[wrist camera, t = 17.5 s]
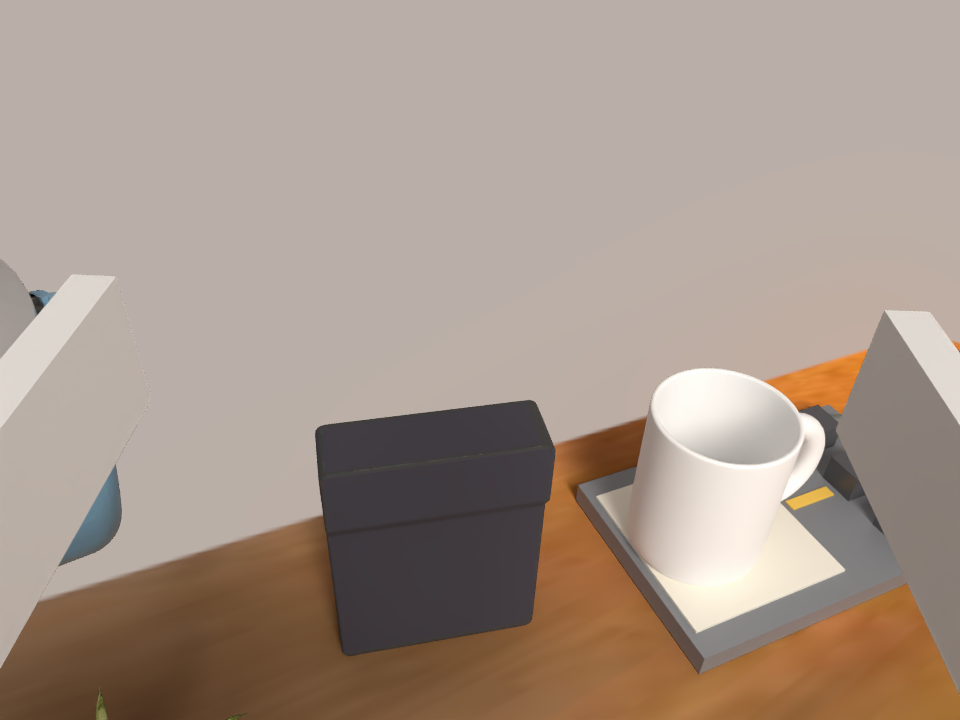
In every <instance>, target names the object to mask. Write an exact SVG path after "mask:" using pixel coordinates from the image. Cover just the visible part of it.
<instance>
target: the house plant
mask: <svg viewBox="0 0 960 720" xmlns="http://www.w3.org/2000/svg"><path fill="white" fill-rule="evenodd" d="M245 714H247V713H245ZM245 714H239V715H236V716H232V717H230V718H228V719H226V720H238V719H239V717H240V716H242V715H245ZM96 720H108V717H107V713H106V710H105V706H104V702H103V697H102V694H101V691H100V689H99V697H98V701H97V706H96Z"/></svg>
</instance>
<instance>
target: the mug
mask: <svg viewBox="0 0 960 720" xmlns="http://www.w3.org/2000/svg"><path fill="white" fill-rule="evenodd" d="M824 447H825V433H824V429H823V427H822V426H821V424H820V423H819V421H818V420H817V419H815V418H814V417H812V416H811V415H808V414H806V413H799V412H798V410H797V408H796V407H795V406H794V405H793V403H792V402H791V401H790V400H789V399H788V398H787V397H786V396H785V395H784V394H782V393H781V392H780V391H778V390H777V389H775V388H774V387H772V386H771V385H769V384H767V383H765V382H763V381H762V380H759V379H757V378H754V377H752V376H749V375H746V374H744V373H740V372H736V371H731V370H725V369H719V368H697V369H689V370H685V371H681V372H678V373H675V374H673V375H671V376H669V377H668V378H666V379H665V380H664V381H662V382H661V383H660V384H659V385H658V387H657V388H656V389H655V391H654V392H653V395H652V397H651V402H650V406H649V411H648V416H647V421H646V426H645V430H644V435H643V440H642V445H641V450H640V454H639V459H638V464H637V469H636V474H635V478H634V483H633V488H632V493H631V498H630V503H629V508H628V521H627V522H628V531H629V535H630V538H631V541H632V543H633V545H634V547H635V548H636V550H637V551H638V553H639V554H640V555H641V557H642V558H643V559H644V560H645V561H646V562H647V563H648V564H649V565H650V566H652V567H653V568H654V569H656V570H657V571H658V572H660V573H662V574H663V575H665V576H667V577H669V578H671V579H674V580H676V581H679V582H682V583H686V584H690V585H696V586H719V585H724V584H728V583H731V582H733V581H735V580H737V579H739V578H741V577H743V576H744V575H745V574H747V573H748V572H749V571H750V570H751V569H752V567H753V566H754V565H755V563H756V562H757V560H758V558H759V556H760V554H761V552H762V549H763V547H764V544H765V542H766V539H767V537H768V534H769V531H770V529H771V526H772V523H773V521H774V518H775V515H776V513H777V510H778V507H779V505H780V502H781V501H783V500H784V499H786V498H788V497H789V496H791V495H792V494H793V493H795V492H796V491H797V490H798V489H799V488H800V487H801V486H802V485H803V484H804V483H805V482H806V481H807V480H808V479H809V477H810V476H811V475H812V473H813V472H814V470H815V469H816V467H817V465H818V463H819V461H820V459H821V457H822V454H823V451H824Z"/></svg>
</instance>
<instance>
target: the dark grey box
mask: <svg viewBox="0 0 960 720" xmlns="http://www.w3.org/2000/svg"><path fill="white" fill-rule="evenodd" d="M315 437H316V438H315V439H316V452H317V464H318V477H319V486H320V495H321V502H322V508H323V516H324V523H325V530H326V535H327V542H328V549H329V556H330V564H331V571H332V578H333V586H334V593H335V600H336V608H337V615H338V622H339V630H340V637H341V644H342V651H343V653H344V654H345V655H349V656H351V655H357V654H363V653H369V652H374V651H380V650H386V649H391V648H397V647H403V646H409V645H414V644H420V643H426V642H431V641H437V640H443V639H448V638H454V637H460V636H465V635H471V634H477V633H483V632H488V631H494V630H500V629H505V628H511V627H517V626H522V625H526V624H528V623H530V622H531V620H532V615H533V606H534V597H535V588H536V579H537V571H538V562H539V553H540V544H541V535H542V527H543V518H544V509H545V503H547V502H548V501H549V500H550V494H551V486H552V478H553V469H554V461H555V448H554V445H553V443H552V440H551V438H550V435H549V433H548V431H547V428H546V426H545V423H544V421H543V418H542V416H541V414H540V411H539V409H538V407H537V404H536V403H535V402H534V401H531V400H526V401H517V402H509V403H501V404H493V405H485V406H476V407H468V408H460V409H451V410H443V411H435V412H427V413H418V414H410V415H402V416H394V417H386V418H377V419H369V420H361V421H353V422H344V423H336V424H328V425H323V426H320V427H319V428H317V430H316V433H315Z"/></svg>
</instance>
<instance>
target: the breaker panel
mask: <svg viewBox="0 0 960 720" xmlns="http://www.w3.org/2000/svg"><path fill="white" fill-rule="evenodd" d="M798 412H799V413H806V414H808V415H811V416H812V417H814V418H815V419H817V420H818V421H819V423H820V424H821V426H822V427H823V429H824V433H825V447H824V451H823V454H822V457H821V459H820V461H819V463H818V465H817V467H816V469H815V470H814V472H813V473H812V475H811V476H810V477H809V479H808V480H807V481H806V482H805V483H804V484H803V485H802V486H801V487H800V488H799V489H798V490H797V491H796V492H795V493H793V494H792V495H791V496H789V497H788V498H786V499H784V500H783V501H781V502H780V505H779V507H778V510H777V513H776V515H775V518H774V521H773V523H772V526H771V529H770V531H769V534H768V537H767V539H766V542H765V544H764V547H763V549H762V552H761V554H760V556H759V558H758V560H757V562H756V563H755V565H754V566H753V567H752V569H751V570H750V571H749V572H748V573H747V574H745V575H744V576H743V577H741V578H739V579H737V580H735V581H733V582H731V583H728V584H724V585H719V586H696V585H690V584H686V583H682V582H679V581H676V580H674V579H671V578H669V577H667V576H665V575H663V574H662V573H660V572H658V571H657V570H656V569H654V568H653V567H652V566H650V565H649V564H648V563H647V562H646V561H645V560H644V559H643V558H642V557H641V555H640V554H639V553H638V551H637V550H636V548H635V547H634V545H633V543H632V541H631V538H630V535H629V531H628V522H627V521H628V508H629V503H630V498H631V493H632V488H633V483H634V478H635V474H636V469H637V466H636V467H633V468H629V469H626V470H623V471H620V472H617V473H614V474H611V475H608V476H604V477H601V478H598V479H595V480H592V481H589V482H586V483H583V484H579V485H578V489H577V495H576V501H577V503H578V504H579V505H580V507H581V508H582V510H583V511H584V513H585V514H586V515H587V517H588V518H589V520H590V521H591V522H592V524H593V525H594V527H595V528H596V529H597V531H598V532H599V534H600V535H601V537H602V538H603V539H604V541H605V542H606V544H607V545H608V546H609V548H610V549H611V551H612V552H613V553H614V555H615V556H616V558H617V559H618V561H619V562H620V563H621V565H622V566H623V568H624V569H625V570H626V572H627V573H628V575H629V576H630V577H631V579H632V580H633V582H634V583H635V584H636V586H637V587H638V589H639V590H640V592H641V593H642V594H643V596H644V597H645V599H646V600H647V601H648V603H649V604H650V606H651V607H652V608H653V610H654V611H655V613H656V614H657V616H658V617H659V618H660V620H661V621H662V623H663V624H664V625H665V627H666V628H667V630H668V631H669V632H670V634H671V635H672V637H673V638H674V640H675V641H676V642H677V644H678V645H679V647H680V648H681V649H682V651H683V652H684V654H685V655H686V656H687V658H688V659H689V661H690V662H691V664H692V665H693V666H694V668H695V669H696V671H697V672H698V673H699V674H701V673H703V672H705V671H708V670H710V669H712V668H714V667H717V666H719V665H721V664H724V663H726V662H728V661H730V660H733V659H735V658H737V657H740V656H742V655H744V654H746V653H749V652H751V651H753V650H756V649H758V648H760V647H762V646H765V645H767V644H769V643H772V642H774V641H776V640H779V639H781V638H783V637H785V636H788V635H790V634H792V633H795V632H797V631H799V630H801V629H804V628H806V627H808V626H811V625H813V624H815V623H817V622H820V621H822V620H824V619H827V618H829V617H831V616H833V615H836V614H838V613H840V612H843V611H845V610H847V609H849V608H852V607H854V606H856V605H859V604H861V603H863V602H865V601H868V600H870V599H872V598H875V597H877V596H879V595H881V594H884V593H886V592H888V591H891V590H893V589H895V588H897V587H900V586H902V585H904V584H907V582H906V579H905V577H904V575H903V573H902V571H901V569H900V567H899V565H898V562H897V560H896V558H895V556H894V554H893V552H892V550H891V547H890V545H889V543H888V541H887V539H886V537H885V535H884V532H883V530H882V528H881V526H880V524H879V522H878V520H877V518H876V515H875V513H874V511H873V509H872V507H871V505H870V503H869V500H868V498H867V496H866V494H865V492H864V490H863V488H862V485H861V483H860V481H859V479H858V477H857V475H856V473H855V471H854V468H853V466H852V464H851V462H850V460H849V458H848V456H847V453H846V451H845V449H844V447H843V445H842V443H841V441H840V439H839V436H838V434H837V432H836V428H837V425H838V423H839V420H840V418H841V416H842V415H840V414H839V413H838V412H837V411H836V410H835V409H833V408H832V407H831V406H830V405H826V406H823V407H820V406H819V405H816V406H813V407H810V408H807V409H803V410H800V411H798Z"/></svg>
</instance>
